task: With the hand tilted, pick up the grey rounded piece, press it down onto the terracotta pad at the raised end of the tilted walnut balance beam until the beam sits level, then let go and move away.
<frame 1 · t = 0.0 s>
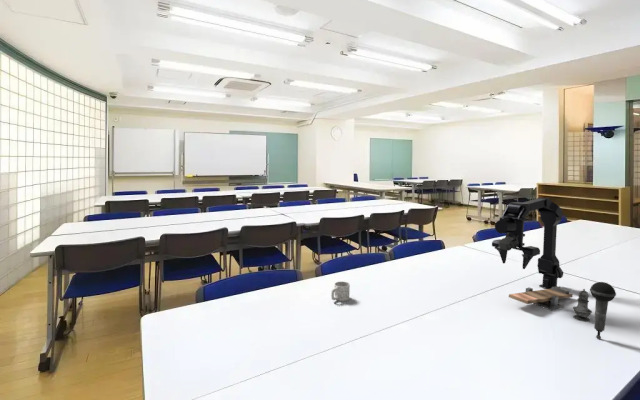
hand: (513, 266, 149), 15 cm above the table, tool pointing down, fingers open, 9 cm apart
beam: (541, 294, 145), point 4 cm above the table, hinge at -5.0°
microphone: (598, 339, 116), on the table
beam stand: (540, 302, 146), on the table
grey rounded piece: (581, 319, 131), on the table
mug: (339, 299, 150), on the table
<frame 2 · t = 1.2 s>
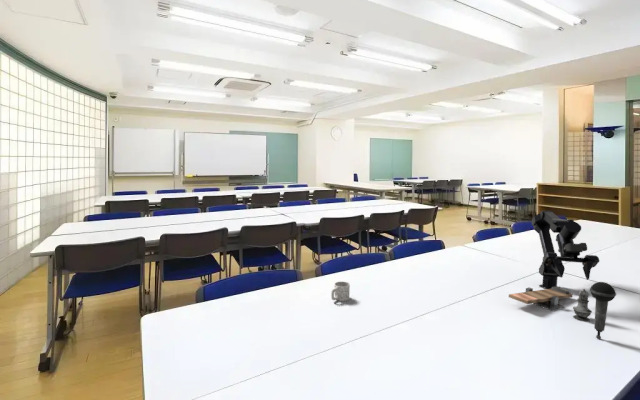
hand: (574, 278, 137), 13 cm above the table, tool tilted 45°, fingers open, 9 cm apart
nothing on the table moved.
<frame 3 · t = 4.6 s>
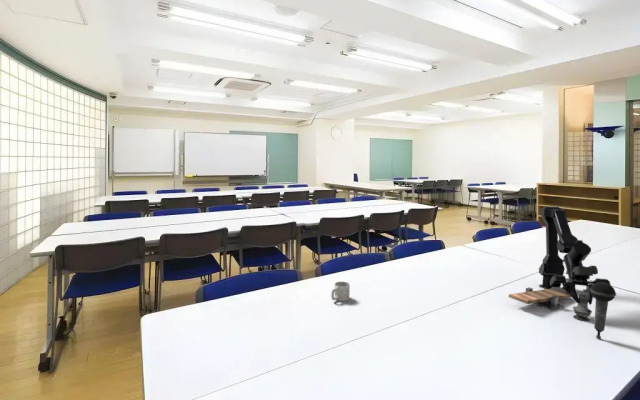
hand: (584, 303, 129), 7 cm above the table, tool tilted 45°, fingers closed on grey rounded piece, 4 cm apart
grey rounded piece: (581, 318, 131), on the table, touching gripper
everything else where it was.
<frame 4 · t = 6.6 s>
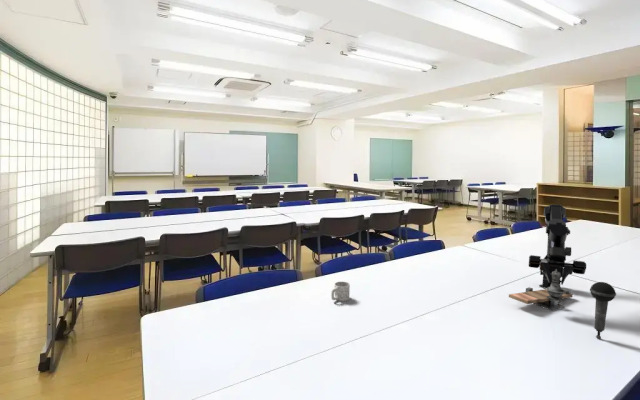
hand: (555, 283, 132), 13 cm above the table, tool tilted 45°, fingers closed on grey rounded piece, 4 cm apart
grey rounded piece: (554, 299, 134), point 6 cm above the table, touching gripper
everything else where it was.
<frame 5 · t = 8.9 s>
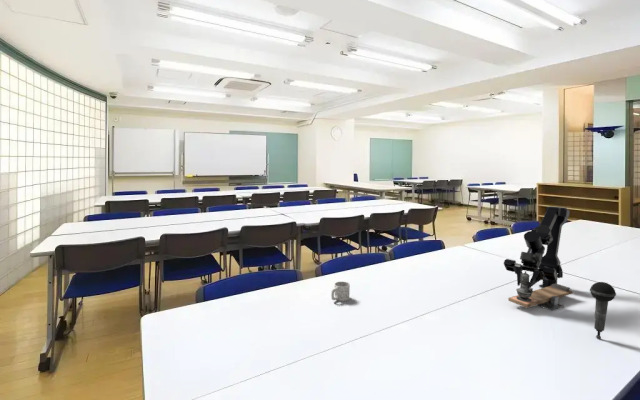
hand: (523, 286, 138), 10 cm above the table, tool tilted 45°, fingers closed on grey rounded piece, 3 cm apart
beam: (541, 294, 145), point 4 cm above the table, hinge at 0.5°, touching grey rounded piece
grey rounded piece: (523, 299, 140), point 4 cm above the table, touching beam, gripper
everything else where it was.
when the fingers open (10 cm above the table, at t = 10.2 s): grey rounded piece stays where it is, resting on beam.
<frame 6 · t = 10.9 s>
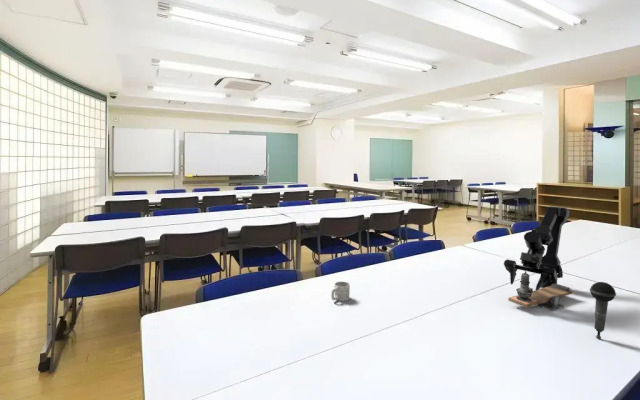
hand: (523, 287, 139), 9 cm above the table, tool tilted 45°, fingers open, 9 cm apart
grey rounded piece: (523, 299, 140), point 4 cm above the table, touching beam
everything else where it was.
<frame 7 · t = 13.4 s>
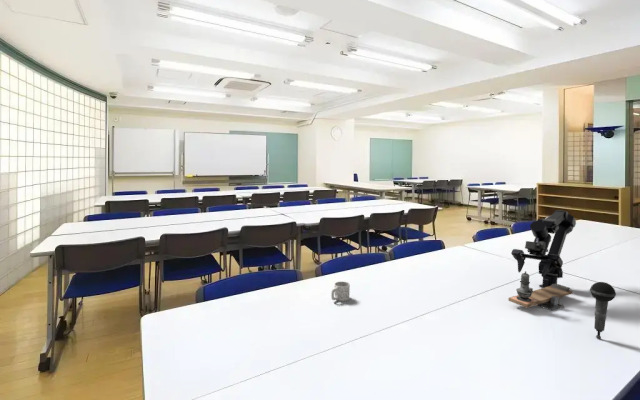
hand: (530, 274, 146), 12 cm above the table, tool tilted 40°, fingers open, 9 cm apart
nothing on the table moved.
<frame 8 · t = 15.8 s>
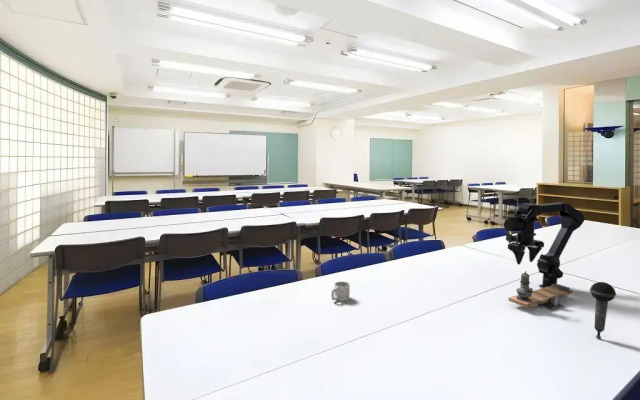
hand: (524, 263, 159), 13 cm above the table, tool pointing down, fingers open, 9 cm apart
nothing on the table moved.
at the end: beam at +0° (first picture: -5°); grey rounded piece inside the target area on the beam (0.1 cm from its centre), point 0.4 cm above the beam's base; grey rounded piece tilted 0° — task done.
